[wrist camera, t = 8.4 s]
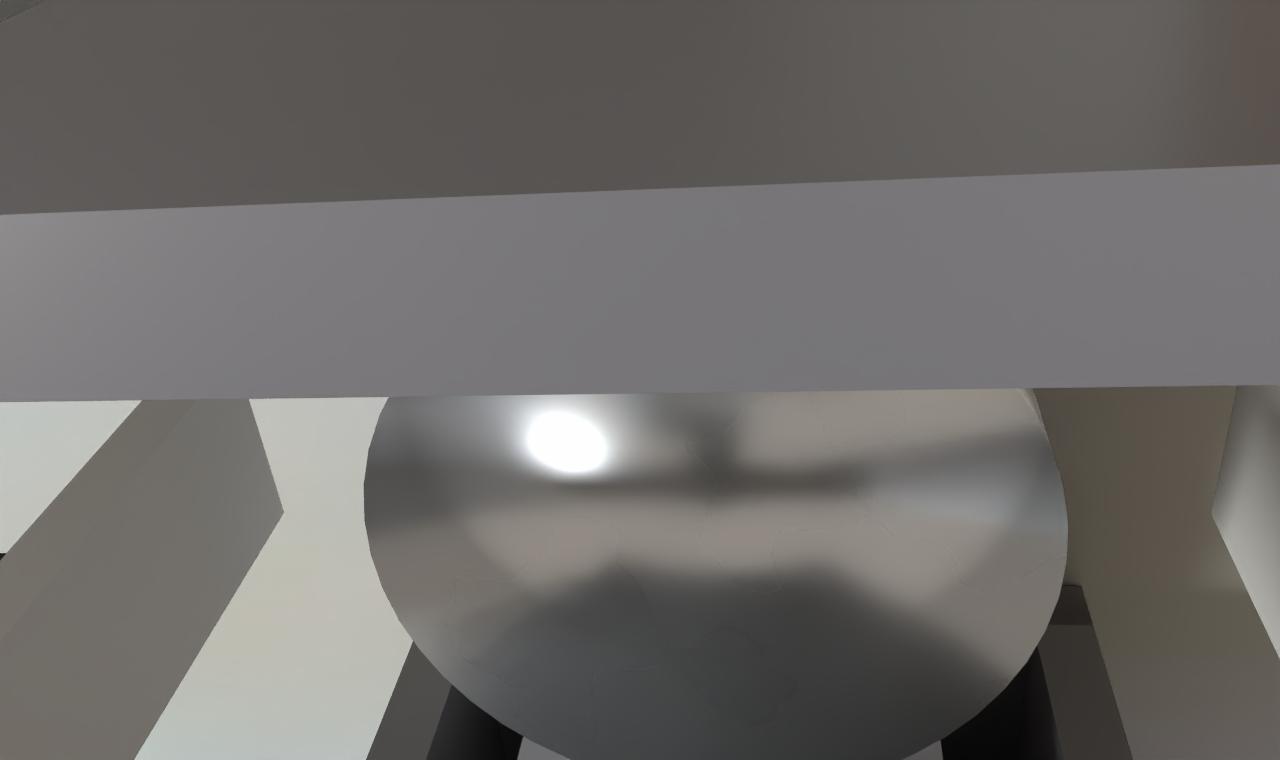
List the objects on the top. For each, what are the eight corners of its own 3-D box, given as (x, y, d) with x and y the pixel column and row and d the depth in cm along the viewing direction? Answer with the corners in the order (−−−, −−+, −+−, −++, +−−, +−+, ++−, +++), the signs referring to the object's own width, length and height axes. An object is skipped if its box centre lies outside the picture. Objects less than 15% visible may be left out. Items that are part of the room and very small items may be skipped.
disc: (343, 190, 13) (290, 251, 12) (1075, 162, 12) (1109, 225, 11) (460, 693, 17) (431, 780, 16) (1017, 708, 16) (1035, 803, 15)
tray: (268, -101, 16) (-462, 231, 7) (1193, -176, 14) (1913, 139, 5) (459, 700, 24) (244, 1355, 15) (1067, 716, 22) (1256, 1475, 13)
